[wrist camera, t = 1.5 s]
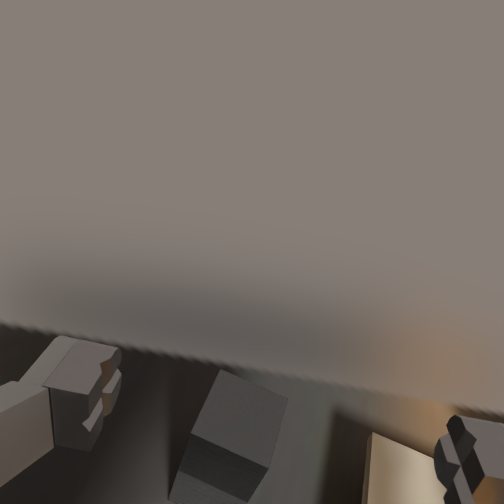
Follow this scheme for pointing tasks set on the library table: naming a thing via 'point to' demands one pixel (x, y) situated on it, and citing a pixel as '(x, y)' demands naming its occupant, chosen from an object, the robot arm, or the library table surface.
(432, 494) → the birch stand
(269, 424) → the block
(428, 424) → the library table surface
